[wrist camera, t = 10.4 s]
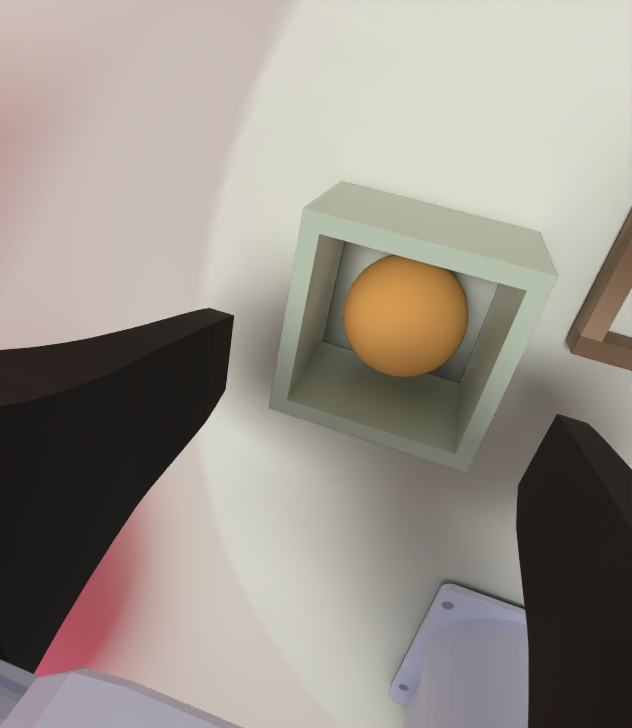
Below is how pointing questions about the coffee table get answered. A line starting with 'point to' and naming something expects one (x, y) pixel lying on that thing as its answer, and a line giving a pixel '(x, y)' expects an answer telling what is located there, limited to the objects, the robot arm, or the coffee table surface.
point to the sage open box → (422, 392)
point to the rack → (606, 308)
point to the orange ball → (405, 316)
